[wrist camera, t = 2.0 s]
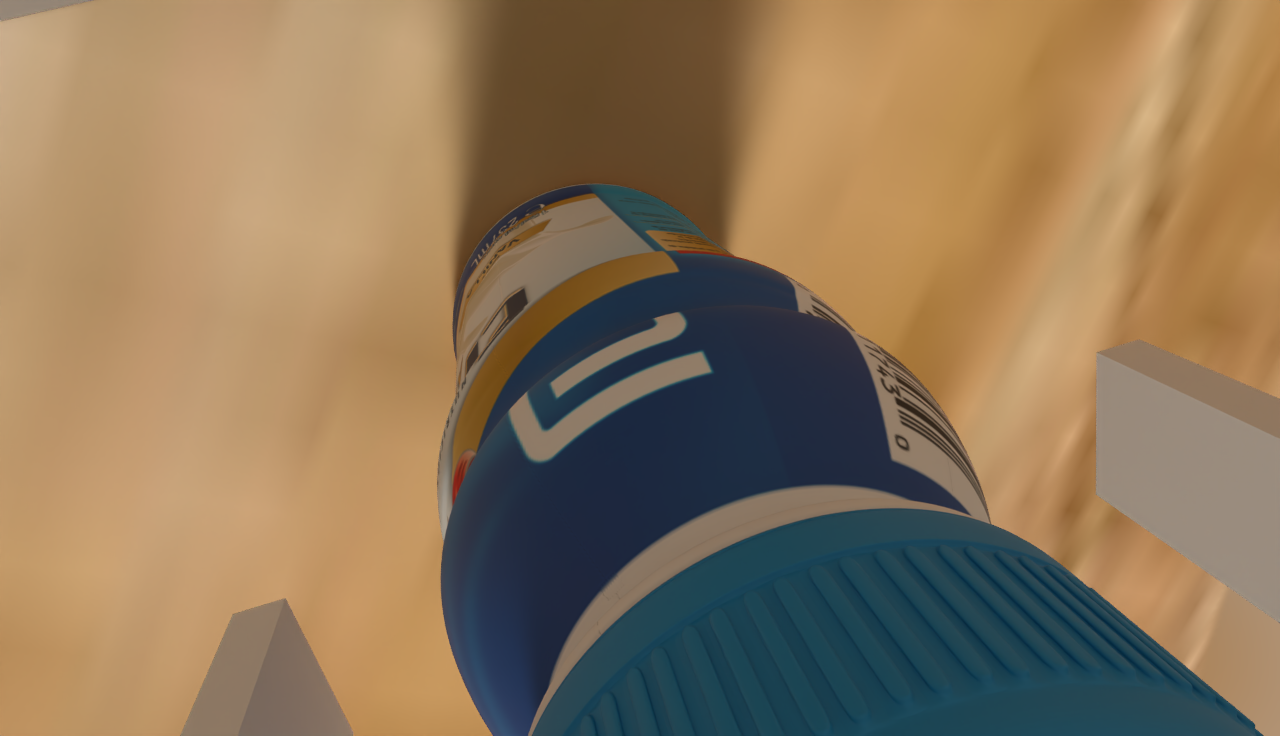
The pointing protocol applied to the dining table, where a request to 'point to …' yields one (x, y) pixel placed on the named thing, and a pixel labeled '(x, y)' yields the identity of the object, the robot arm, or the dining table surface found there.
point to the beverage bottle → (740, 515)
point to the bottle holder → (31, 7)
